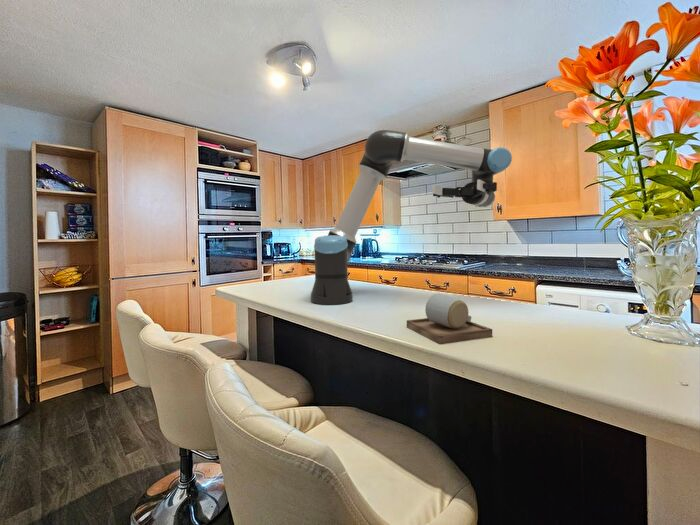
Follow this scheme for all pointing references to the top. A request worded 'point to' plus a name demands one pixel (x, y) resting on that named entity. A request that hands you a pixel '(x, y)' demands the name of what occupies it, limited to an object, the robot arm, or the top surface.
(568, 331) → the top surface
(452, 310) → the ceramic mug
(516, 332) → the top surface
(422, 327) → the walnut board
